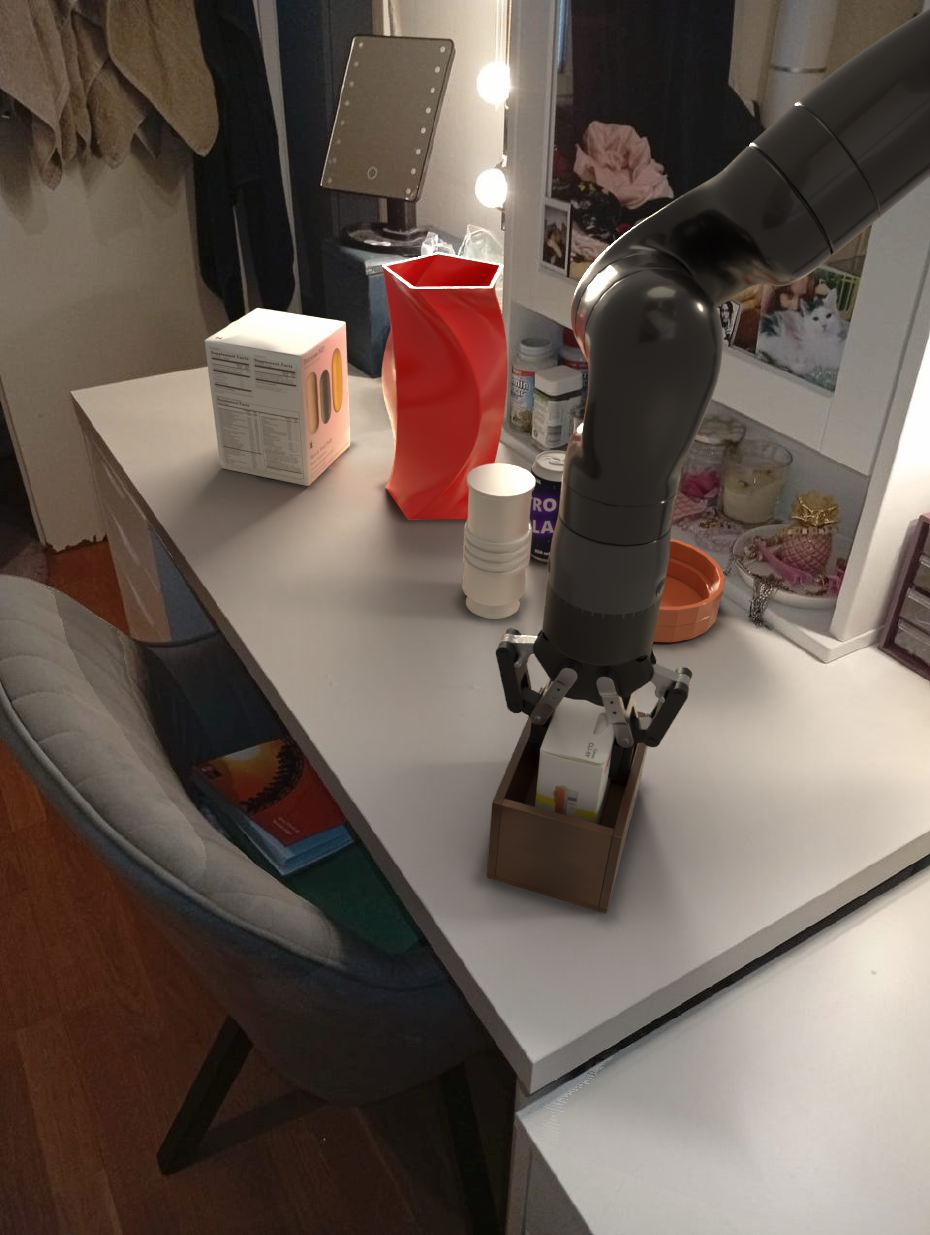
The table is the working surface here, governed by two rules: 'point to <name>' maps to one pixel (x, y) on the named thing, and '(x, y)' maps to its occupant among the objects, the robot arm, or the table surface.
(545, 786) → the ink box
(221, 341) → the supplement box
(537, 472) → the beverage can
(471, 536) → the white ribbed cup
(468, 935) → the table surface
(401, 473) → the vase
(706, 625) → the bowl
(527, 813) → the holder
